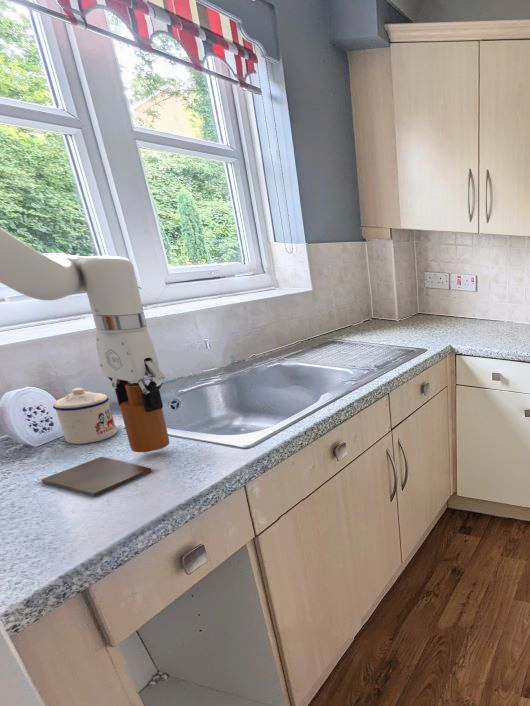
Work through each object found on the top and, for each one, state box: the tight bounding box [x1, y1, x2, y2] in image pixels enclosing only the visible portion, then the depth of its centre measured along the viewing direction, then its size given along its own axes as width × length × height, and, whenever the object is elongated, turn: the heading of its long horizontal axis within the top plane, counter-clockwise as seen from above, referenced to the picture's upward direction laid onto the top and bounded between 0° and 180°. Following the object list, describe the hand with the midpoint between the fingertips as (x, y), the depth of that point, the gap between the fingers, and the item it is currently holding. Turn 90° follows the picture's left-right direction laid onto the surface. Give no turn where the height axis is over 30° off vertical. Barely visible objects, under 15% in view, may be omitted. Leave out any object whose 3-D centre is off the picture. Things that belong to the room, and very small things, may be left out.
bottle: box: [119, 381, 170, 453], centre depth 95 cm, size 6×6×14 cm
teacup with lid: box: [52, 387, 118, 445], centre depth 104 cm, size 12×9×12 cm
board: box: [41, 456, 153, 498], centre depth 88 cm, size 14×10×1 cm
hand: (141, 406), depth 95 cm, fingers closed on bottle, 6 cm apart
